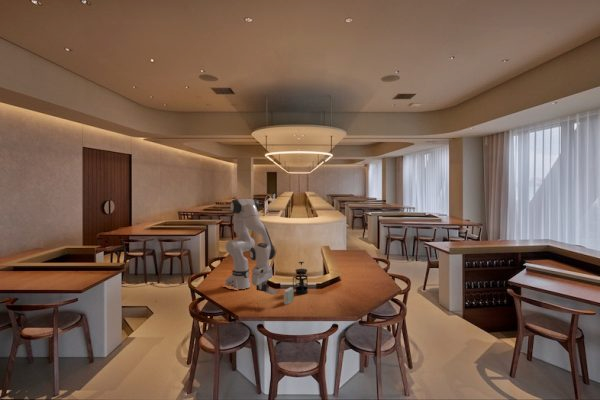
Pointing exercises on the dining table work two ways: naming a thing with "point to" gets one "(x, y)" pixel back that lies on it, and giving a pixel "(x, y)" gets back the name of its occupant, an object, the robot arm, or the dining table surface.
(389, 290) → the dining table surface
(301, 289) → the french press
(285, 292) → the tile
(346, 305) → the dining table surface
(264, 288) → the turner
